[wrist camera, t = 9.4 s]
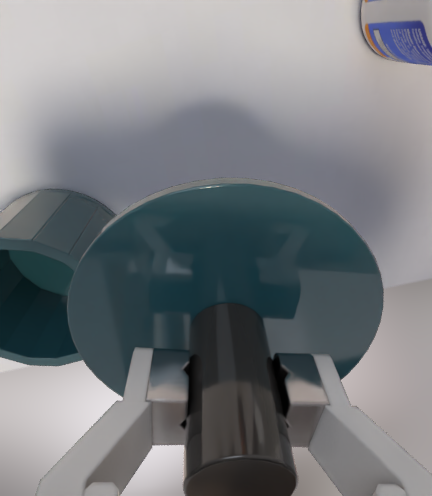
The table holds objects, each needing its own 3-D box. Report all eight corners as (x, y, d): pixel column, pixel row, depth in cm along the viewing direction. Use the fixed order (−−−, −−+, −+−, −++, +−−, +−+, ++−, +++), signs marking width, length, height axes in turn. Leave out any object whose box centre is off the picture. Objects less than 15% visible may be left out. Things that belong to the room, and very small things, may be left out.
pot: (-15, 183, 22) (-88, 232, 17) (131, 193, 23) (108, 244, 17) (15, 296, 27) (-34, 363, 21) (135, 301, 28) (118, 368, 22)
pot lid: (56, 155, 9) (-106, 290, 4) (415, 182, 10) (620, 322, 5) (92, 394, 14) (36, 579, 9) (327, 400, 15) (387, 573, 10)
